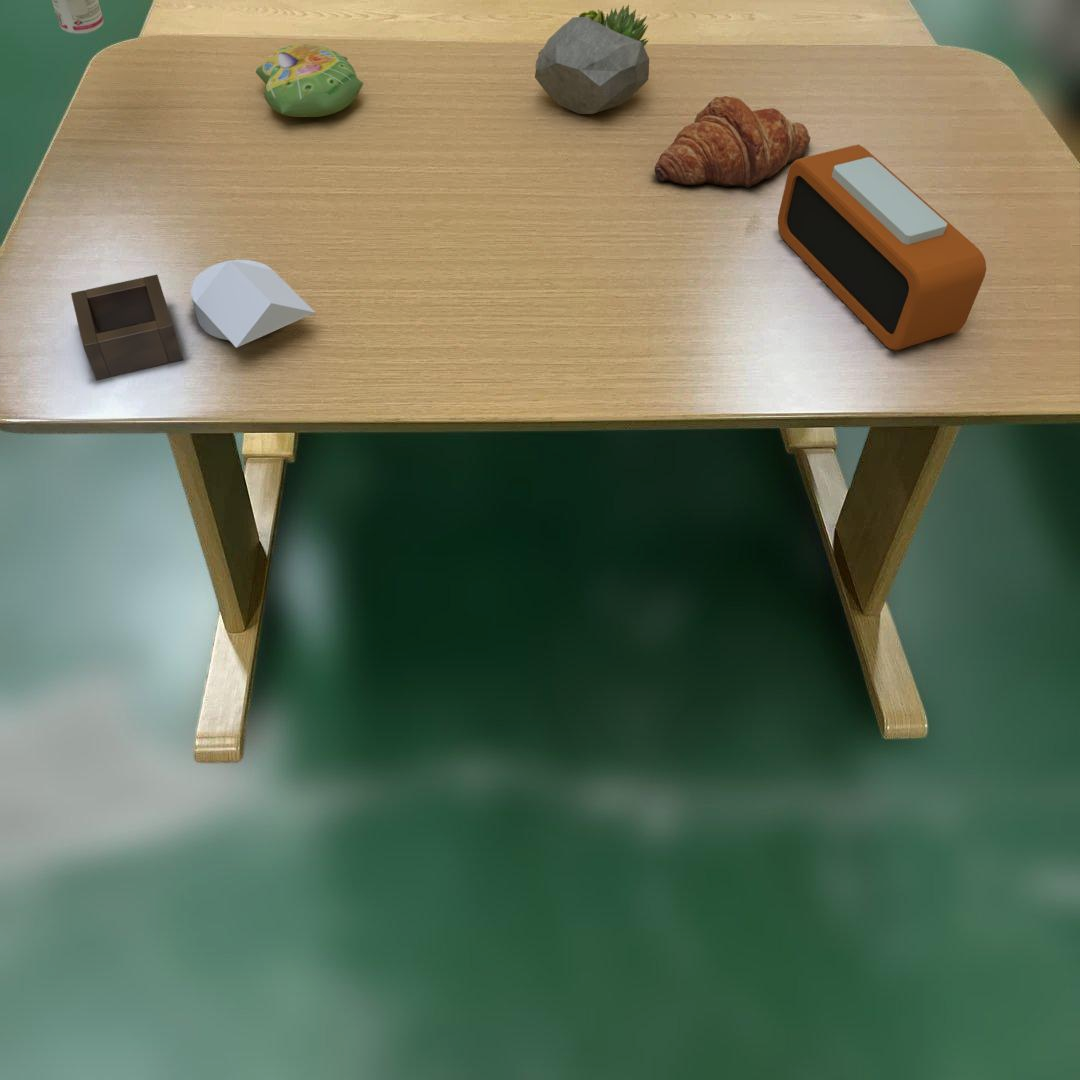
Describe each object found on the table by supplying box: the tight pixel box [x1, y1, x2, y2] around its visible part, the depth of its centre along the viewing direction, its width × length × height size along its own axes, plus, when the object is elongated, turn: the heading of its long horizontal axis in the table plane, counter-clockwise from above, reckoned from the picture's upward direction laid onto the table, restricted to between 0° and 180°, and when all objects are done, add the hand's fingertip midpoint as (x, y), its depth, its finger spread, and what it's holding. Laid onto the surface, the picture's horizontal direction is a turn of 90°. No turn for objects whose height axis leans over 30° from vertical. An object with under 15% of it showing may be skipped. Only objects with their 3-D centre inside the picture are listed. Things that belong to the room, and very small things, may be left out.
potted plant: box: [534, 4, 650, 115], centre depth 142 cm, size 12×13×15 cm
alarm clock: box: [777, 144, 987, 351], centre depth 119 cm, size 24×8×11 cm, turn 24°
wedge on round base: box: [190, 259, 316, 349], centre depth 114 cm, size 9×7×13 cm
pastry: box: [654, 95, 811, 189], centre depth 134 cm, size 17×15×8 cm
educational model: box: [255, 43, 364, 118], centre depth 142 cm, size 13×16×5 cm
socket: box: [70, 274, 184, 381], centre depth 112 cm, size 9×9×4 cm
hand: (75, 0), depth 121 cm, fingers closed on pill bottle, 5 cm apart
